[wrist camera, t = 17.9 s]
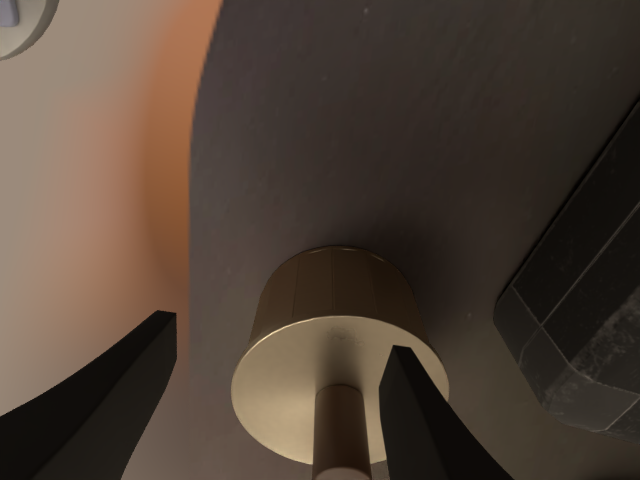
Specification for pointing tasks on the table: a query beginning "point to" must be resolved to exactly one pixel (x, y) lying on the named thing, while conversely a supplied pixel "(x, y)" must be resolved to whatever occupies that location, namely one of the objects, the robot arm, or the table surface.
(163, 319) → the robot arm
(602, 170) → the cash box
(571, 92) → the table surface
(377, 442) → the lid
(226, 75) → the table surface
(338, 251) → the tin
